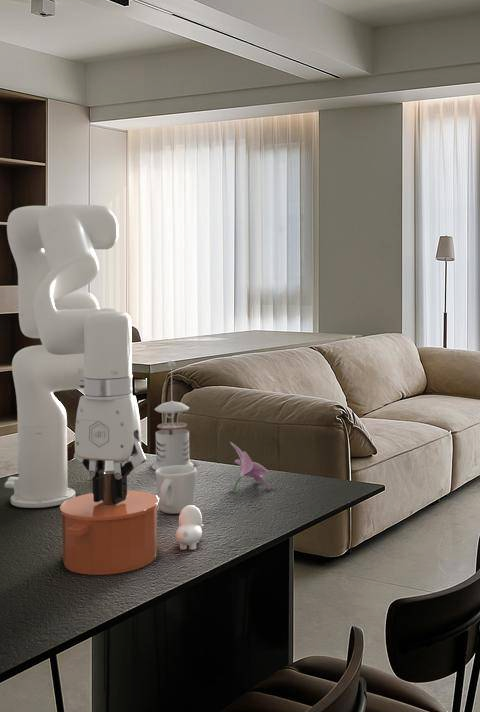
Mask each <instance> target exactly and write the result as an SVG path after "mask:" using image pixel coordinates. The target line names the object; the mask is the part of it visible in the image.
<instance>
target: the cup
mask: <svg viewBox="0 0 480 712" xmlns="http://www.w3.org/2000/svg"><path fill="white" fill-rule="evenodd" d="M197 473H198V470H197V468H196V467H195V466H193V467H192V466H187V465H173V466H166V467H161V468H159V469H157V470H155V471H154V478H155V485H156V494H157V495H156V496H157V497H158V499H159V505H158V507H159V510H160V511H161V512H162V513H164V514H169V515H180V513H181V511H182V509H183V508H185V507H186V506H188V505H193V506H195V505H194V504H195V497H196V496H195V495H196V484H197Z"/></svg>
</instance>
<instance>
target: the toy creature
mask: <svg viewBox="0 0 480 712" xmlns="http://www.w3.org/2000/svg"><path fill="white" fill-rule="evenodd" d="M178 526H179V527H177V528H176V531H175V539H176V541H177V542H178V543H179V550H182V551H183V550H187V549H189V550H197V544H199V543H200V539H201V537H202V534H203V530H202V528H203V526H205V524H203V515H202V513H201V510H200V509H199V508H198V507H197V506H196V505H188V506H186V507H185V508H183V509H182V511H181V513H180V514H178Z"/></svg>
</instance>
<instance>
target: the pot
mask: <svg viewBox="0 0 480 712" xmlns="http://www.w3.org/2000/svg"><path fill="white" fill-rule="evenodd" d="M157 507H158V506H157ZM157 507H156V508H155V509H154V510H152V511H150V512H148V513H145V514H142V515H138V516H134V517H130V518H124V519H117V520H105V521H87V520H77V519H72V518H68V517H66V516H64V515H62V514H61V515H62V516H61V517H62V518H61V519H62V522H61V523H62V526H61V527H62V562H63V566H64V568H66V570H69V571H70V572H72V573H77V574H82V575H90V576H104V575H106V576H107V575H116V574H123V573H127V572H132V571H136V570H138V569H141V568H143V567H146V566H148V565H150V564H151V563H153V562H154V561H155V560H156V558H157V552H158V512H157V511H158V509H157Z"/></svg>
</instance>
